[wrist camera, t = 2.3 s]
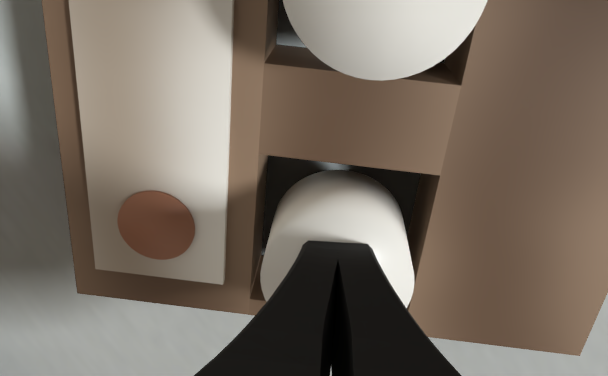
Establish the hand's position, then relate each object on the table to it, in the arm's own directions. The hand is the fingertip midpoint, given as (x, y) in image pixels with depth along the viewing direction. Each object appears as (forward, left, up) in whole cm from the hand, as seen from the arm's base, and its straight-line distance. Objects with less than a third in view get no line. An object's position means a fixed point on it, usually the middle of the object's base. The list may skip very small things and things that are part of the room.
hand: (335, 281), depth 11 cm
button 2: (0, 0, -2) cm, 2 cm away
